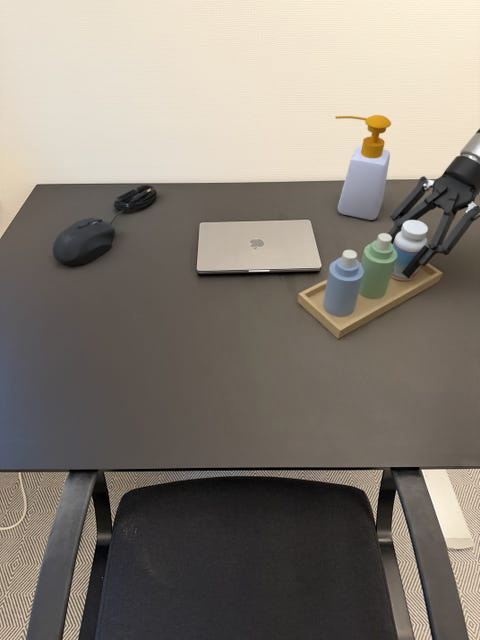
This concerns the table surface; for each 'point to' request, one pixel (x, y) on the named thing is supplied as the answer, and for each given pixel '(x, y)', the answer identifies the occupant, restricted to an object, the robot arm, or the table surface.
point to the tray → (367, 301)
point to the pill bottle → (408, 247)
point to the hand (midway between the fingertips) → (392, 266)
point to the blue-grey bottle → (343, 285)
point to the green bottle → (377, 267)
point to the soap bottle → (366, 173)
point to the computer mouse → (96, 230)
